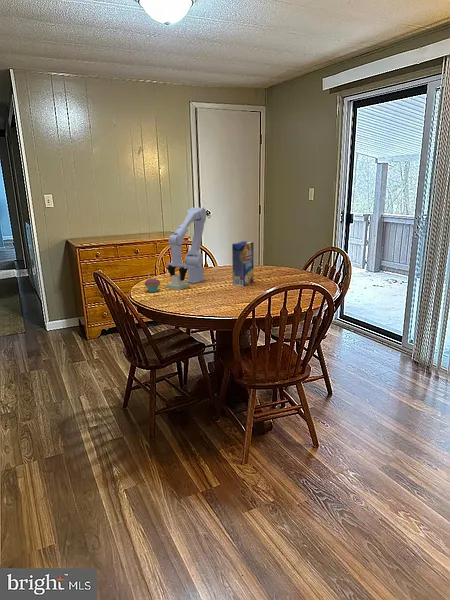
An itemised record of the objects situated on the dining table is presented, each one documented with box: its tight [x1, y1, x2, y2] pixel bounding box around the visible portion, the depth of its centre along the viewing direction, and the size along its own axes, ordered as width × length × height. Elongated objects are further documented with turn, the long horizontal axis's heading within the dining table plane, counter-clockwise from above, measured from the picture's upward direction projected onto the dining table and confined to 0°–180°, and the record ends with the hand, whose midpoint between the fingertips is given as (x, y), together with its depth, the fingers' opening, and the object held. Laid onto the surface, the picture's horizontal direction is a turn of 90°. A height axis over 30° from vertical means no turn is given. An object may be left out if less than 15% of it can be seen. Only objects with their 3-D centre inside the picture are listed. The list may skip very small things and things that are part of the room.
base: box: [166, 282, 190, 291], centre depth 234 cm, size 9×9×2 cm
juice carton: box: [231, 240, 255, 287], centre depth 236 cm, size 12×8×24 cm, turn 149°
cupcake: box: [144, 270, 161, 293], centre depth 226 cm, size 9×8×12 cm
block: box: [170, 273, 185, 285], centre depth 233 cm, size 5×5×5 cm
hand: (177, 279), depth 233 cm, fingers open, 7 cm apart
